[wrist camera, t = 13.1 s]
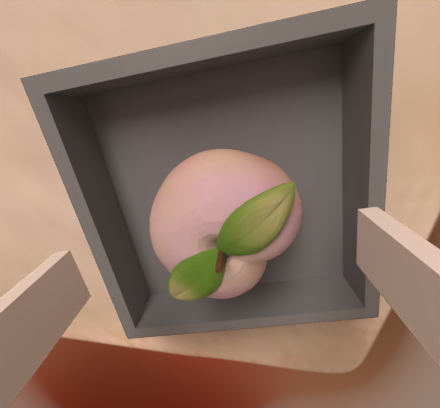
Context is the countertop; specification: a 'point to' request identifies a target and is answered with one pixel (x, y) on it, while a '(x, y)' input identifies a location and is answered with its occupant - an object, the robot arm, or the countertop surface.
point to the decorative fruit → (222, 222)
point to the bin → (237, 140)
